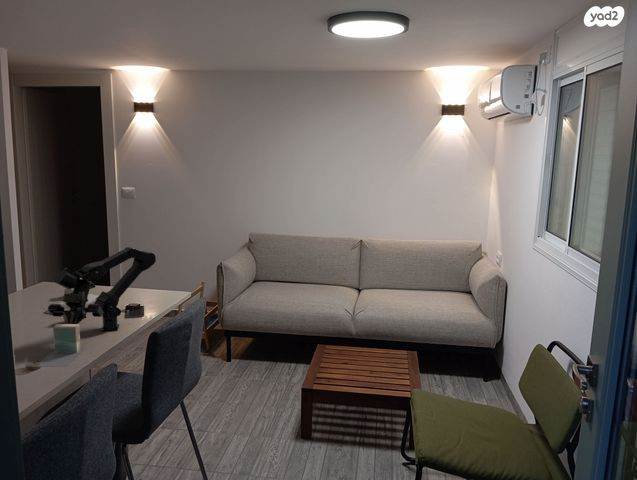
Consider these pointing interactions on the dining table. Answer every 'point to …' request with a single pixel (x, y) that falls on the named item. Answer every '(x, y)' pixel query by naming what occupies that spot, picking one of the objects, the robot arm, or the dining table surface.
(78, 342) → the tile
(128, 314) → the phone
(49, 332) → the dining table surface
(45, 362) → the mat
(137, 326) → the dining table surface
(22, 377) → the dining table surface
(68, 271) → the robot arm
